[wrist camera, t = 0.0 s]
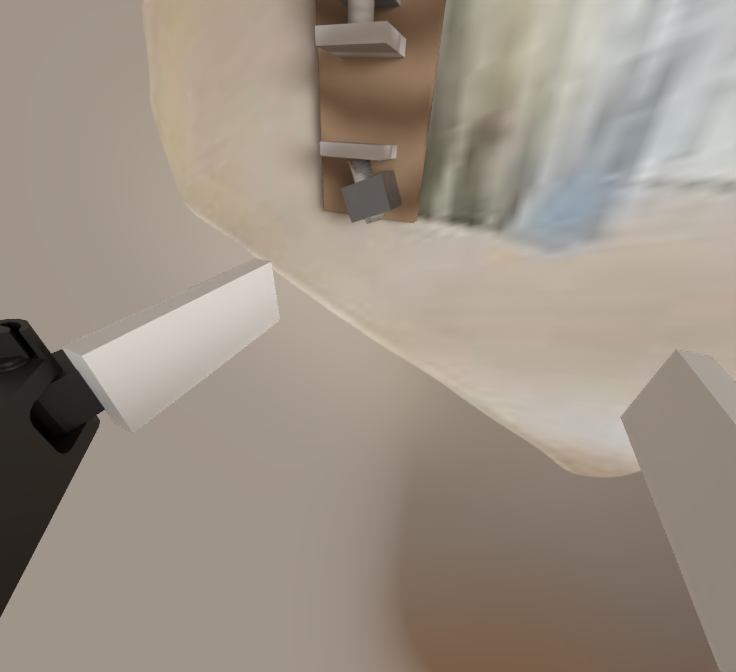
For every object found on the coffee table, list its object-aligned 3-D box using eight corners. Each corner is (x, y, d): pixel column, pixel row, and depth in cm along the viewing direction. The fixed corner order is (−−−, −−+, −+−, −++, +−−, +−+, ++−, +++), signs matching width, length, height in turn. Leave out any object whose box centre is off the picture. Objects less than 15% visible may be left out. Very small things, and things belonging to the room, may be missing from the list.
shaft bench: (322, -51, 26) (276, -97, 21) (455, -71, 23) (438, -133, 18) (329, 208, 39) (302, 218, 34) (416, 220, 36) (400, 233, 30)
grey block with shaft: (350, 163, 34) (333, 166, 30) (388, 147, 31) (374, 148, 28) (367, 220, 36) (353, 227, 33) (403, 209, 34) (392, 216, 31)
